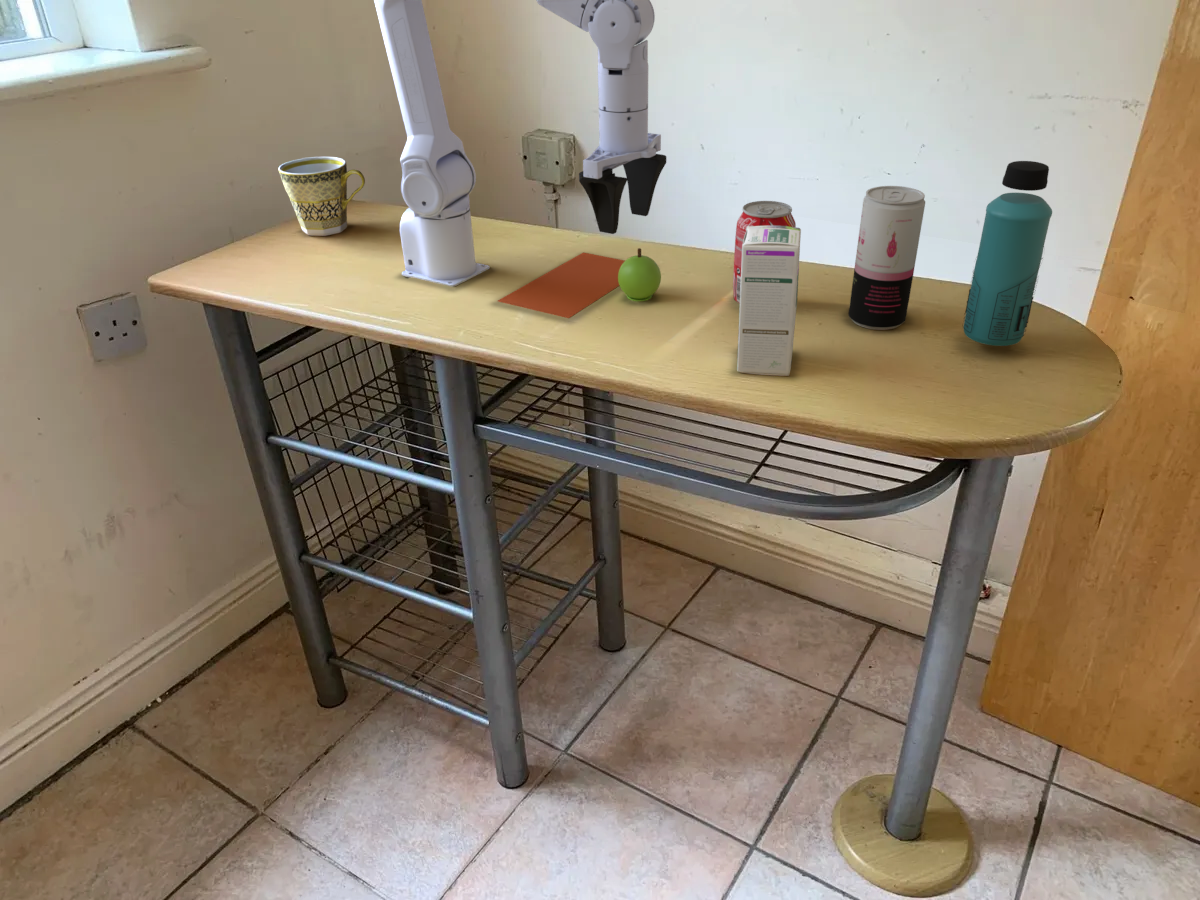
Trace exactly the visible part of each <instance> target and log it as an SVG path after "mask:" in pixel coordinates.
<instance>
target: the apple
mask: <svg viewBox="0 0 1200 900" xmlns="http://www.w3.org/2000/svg"><path fill="white" fill-rule="evenodd" d="M661 281H662V273H661V268H660V267H659V265H658V264H657V262H656V261H655V260H654V259H652V258H651V257H649V256H647V255H642V248H641V247H639V248H637V254H636V255H633V256H630V257H628V258H626V259H625V262H624V263H623V264H622V265H621V267H620V269H619V273H618V282H619V285H620V286H619V287H620V289H621V291H622V292H623V293H624V295H626V299H628V300H630V301H634V302H646V301H649V300H652V298H653V295H654V294H655V293H656V292H657V291H658V290H659V288H660V285H661Z"/></svg>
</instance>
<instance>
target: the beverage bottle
mask: <svg viewBox="0 0 1200 900" xmlns="http://www.w3.org/2000/svg"><path fill="white" fill-rule="evenodd" d="M1049 172H1050V167H1049V165H1047V164H1045V163H1042V162H1038V161H1032V160H1016V161H1012V162H1011V161H1010V162H1009V163H1008V164H1007V166H1006V169H1005V173H1004V175H1003V177H1002V182H1001V184H1002V185H1003V186H1004V187H1005V188H1009V189H1011V190H1017V191H1028V192H1030V191H1031V192H1033V191H1042V190H1044V189H1046V188H1047V186H1048V183H1049V182H1048V181H1049V180H1048V179H1049ZM1052 216H1053V210H1052V208H1051V206H1050V205H1049V204H1048V202H1047V201H1046V200H1045V199H1044V198H1043V197H1042V196H1040V195H1037V194H1032V193H1026V192H1006V193H1005V192H1004V193H1002V194H1000V195H999V196H996V197H995V198H994V199H993V200H991V201H990V202H989V203H988V204H987V205H986V207H985V216H984V220H983V221H984V222H983V225H982V231H981V237H980V241H979V247H978V251H977V255H976V257H975V260H974V261H975V265H973V266H972V267H973V272H972V276H971V277H972V278H971V281H970V282H971V283H970V288H969V289H968V294H967V300H966V305H965V306H966V307H965V310H964V311H965V312H964V314H965V315H964V317H963V320H962V321H963V322H962V329H963V334H964V335H965V336H966V337H967V338H968V339H969V340H972V341H974V342H977V343H979V344H983V345H987V346H994V347H1006V346H1013V345H1016V344H1018V343H1019V342H1020V341H1021V340H1022V339H1023V337H1024V336H1025V335H1026V332H1027V329H1028V324H1029V320H1030V314H1031V311H1032V305H1033V300H1034V297H1035V296H1034V294H1035V292H1036V289H1037V286H1038V285H1037V284H1038V282H1039V280H1038V279H1039V271H1040V268H1041V265H1042V263H1043V262H1042V260H1044V257H1043V255H1044V249H1045V242H1046V238H1047V234H1048V230H1049V225H1050V221H1051V218H1052Z"/></svg>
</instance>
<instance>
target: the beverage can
mask: <svg viewBox="0 0 1200 900" xmlns="http://www.w3.org/2000/svg"><path fill="white" fill-rule="evenodd" d="M925 197H926V194H925V193H924V192H923V191H921V190H919V189H917V188H913V187H908V186H900V185H880V186H874V187H871V188H869V189H867V190H866V192H865V196H864V197H863V199H862V207H861V213H860V214H861V215H860V222H859V230H858V238H857V245H856V252H855V253H856V254H855V261H854V269H853V277H852V284H851V291H850V300H849V307H848V317H849V319H850V320H851V321H852V322H853V323H854V324H856V325H857V326H859V327H862V328H865V329H869V330H877V331H886V330H892V329H896V328H898V327H899V326H901V325H902V324H904V323H905V322H906V320H907V315H908V309H909V302H910V296H911V290H912V285H913V278H914V273H915V266H916V261H917V254H918V249H919V243H920V238H921V231H922V226H923V220H924V215H925V214H924V212H925V207H926V200H925Z"/></svg>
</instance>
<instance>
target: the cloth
mask: <svg viewBox="0 0 1200 900" xmlns="http://www.w3.org/2000/svg"><path fill="white" fill-rule="evenodd" d="M625 261H626V259H625V260H623V259H619V258H614V257H610V256H609V257H608V256H605V255H604V256H603V255H599V254H594V253H588V252H585V251H584V252H582V253H580V254H578V255H576V256H574V257H572V258H571V259H569V260H567V261H565V262H564V263H562V264H559V265H558V266H557V267H555V268H553V269H551V270H550V271H548V272H546V273H544V274H543V275H541V276H539V277H537V278H535V279H534V280H531V281H530V282H528V283H526V284H524V285H523V286H521V287H519V288H517V289H516V290H514V291H512V292H510V293H508V294H507V295H504V296H503V297H501V298H500V299H498V300H497V302H498V303H502V304H506V305H510V306H514V307H519V308H523V309H527V310H532V311H536V312H541V313H544V314H549V315H553V316H557V317H561V318H566V319H571V318H572V317H573V316H575V315H577V314H578V313H580V312H581V311H583V310H584V309H586V308H588V307H589V306H591V305H592V304H593V303H595V302H597V301H598V300H599V299H601V298H603V297H604V296H606V295H607V294H609V293H611V292H612V291H614V290H615V289H617V288H618V287H620V285H619V282H618V273H619V269H620V267H621V265H622V264H623V263H624V262H625Z"/></svg>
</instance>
